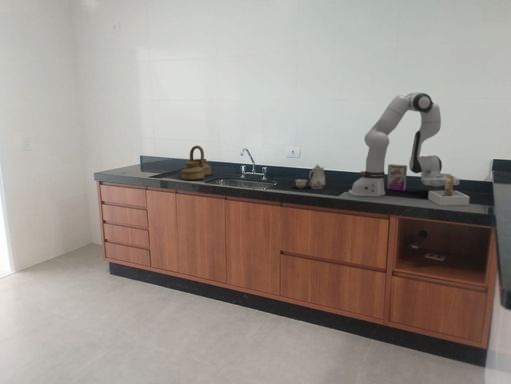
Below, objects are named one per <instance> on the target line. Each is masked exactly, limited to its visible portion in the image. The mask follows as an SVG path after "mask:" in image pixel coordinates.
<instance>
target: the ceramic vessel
mask: <svg viewBox="0 0 511 384" xmlns="http://www.w3.org/2000/svg"><path fill="white" fill-rule="evenodd" d="M196 149H197V150H199V152H200V158H196V159H194V151H195V150H196ZM206 162H207V158H205V151H204V149H203V147H201V146H200V145H194V146H192V148H191V149H190V151H189V161H187V162H185V165H186V167H181V168H180V169H181V179H182V180H185V181H197V180H202V179H204V178H206V176H210V175H211V174H212V166H211V165H210V164H208V163H206Z"/></svg>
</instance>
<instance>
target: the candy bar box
mask: <svg viewBox="0 0 511 384" xmlns="http://www.w3.org/2000/svg"><path fill="white" fill-rule="evenodd" d="M407 171H408V165H405V164H394V163H390V164H388V166H387V177H386V178H387V180H386V190H391V191H398V192H399V191H401V192H404V191H406V187H407V186H406V185H407V175H408V173H407Z"/></svg>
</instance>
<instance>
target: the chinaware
mask: <svg viewBox="0 0 511 384" xmlns="http://www.w3.org/2000/svg"><path fill="white" fill-rule="evenodd" d="M324 169H325V167H324V166H322V167H321V166H320V165H319V163H318V164H316V165H315V166H314V167H313V168H312V170H310V172H309V176H308V177H309V179H310V180H307V179H305V178H303V179H299V178H298V179H295V180H294V182H295V187H297V188H298V189H304V188H305V187H306V185H307V183H308V185H309V186H310V189H313V190H321V189H324V186H325V185H326V176H325V171H324ZM312 173H313V174H312ZM311 175H312V177H311ZM308 181H309V182H308Z"/></svg>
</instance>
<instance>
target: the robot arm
mask: <svg viewBox="0 0 511 384" xmlns="http://www.w3.org/2000/svg"><path fill="white" fill-rule="evenodd" d="M408 111H412V112H419V114H420V117H421V118H420V120H421V121H420V123H421V124H420V127H419V129H418V131H417V130H416V132H415V134H414V138H413V144H412V149H411V155H410V159H409V164H408V165H409V170H410V172H412V173H414V174H420V178H421V179H420V181H421V182H422V184H423V185H424V186H432V187H434V188H440V187H443V186H444V187H445V183H446V176H453V175H452V174H451V173H450V174H449V173H442V172H441V171H442V168H443V165H442V164H443V163H442V161H441V158H440V157H439V156H438V155H436V154H435V155H428V156H420V155H421V150H422V149H421V148H422V145H423V143H424V142H425V141H427V140H428V139H430V138H432V137H434V136H436V135H437V134H438V133H439V132H440V130H441V127H442V126H441V125H442V122H441V121H442V116H441V115H442V114H441V110H440V105H439V104H437V103H435V102H433V100H432V98H431V96H430V95H429V94H428V93H424V92H413V93H412V92H411V93H409V94H407V95H402V94H397V95H396V96H395V97H394V98H393V99H392V100H391V102H389V104H388V105H387V106H386V108H385V110H384V111H383V113H382V114H381V116H380V118H379V119H378V120H377V122H376V123H375V124H374V125H373V126H372V127H371V128H370V130H368V132H367V133H366V134H365V135H364V143H365V145H366V146H367V147H368V151H367V156H366V158H365V159H366V160H365V170H364V171H363V170H361V171H360V173H359V174H360V175H362V176H361V177H360V178H359V179H357V180H356V181H355V182H353V184H352V188H351V189H349V190H348V192H349V193H348V194H349V195H351V196H353V197H354V196H355V197H381V196H385V195H386V191H385V176H386V174H385V172H386V171H385V159H386V156H387V155H386V154H387V150H388V147H389V145H390V137H389V135H390V134H391V133H392V132H393V131H394V130H395V129H396V128H397V126H398V125H399V123H400V122H401V121H402V119H403V117H404V116H405V115H406V113H407V112H408ZM459 185H460V179H459V177H456V176H454V181H453V186H459Z"/></svg>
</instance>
